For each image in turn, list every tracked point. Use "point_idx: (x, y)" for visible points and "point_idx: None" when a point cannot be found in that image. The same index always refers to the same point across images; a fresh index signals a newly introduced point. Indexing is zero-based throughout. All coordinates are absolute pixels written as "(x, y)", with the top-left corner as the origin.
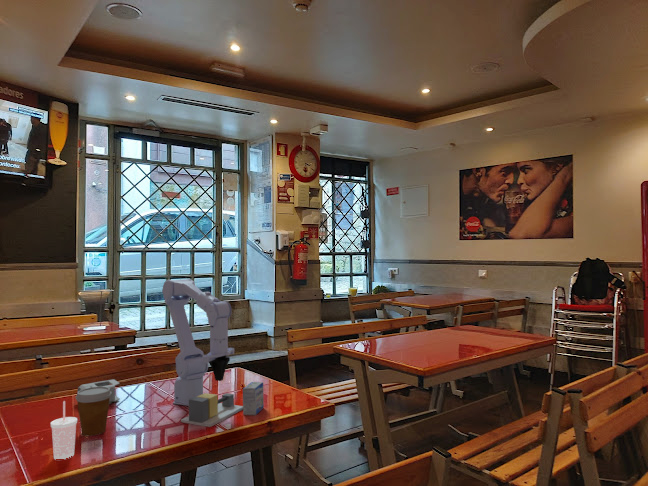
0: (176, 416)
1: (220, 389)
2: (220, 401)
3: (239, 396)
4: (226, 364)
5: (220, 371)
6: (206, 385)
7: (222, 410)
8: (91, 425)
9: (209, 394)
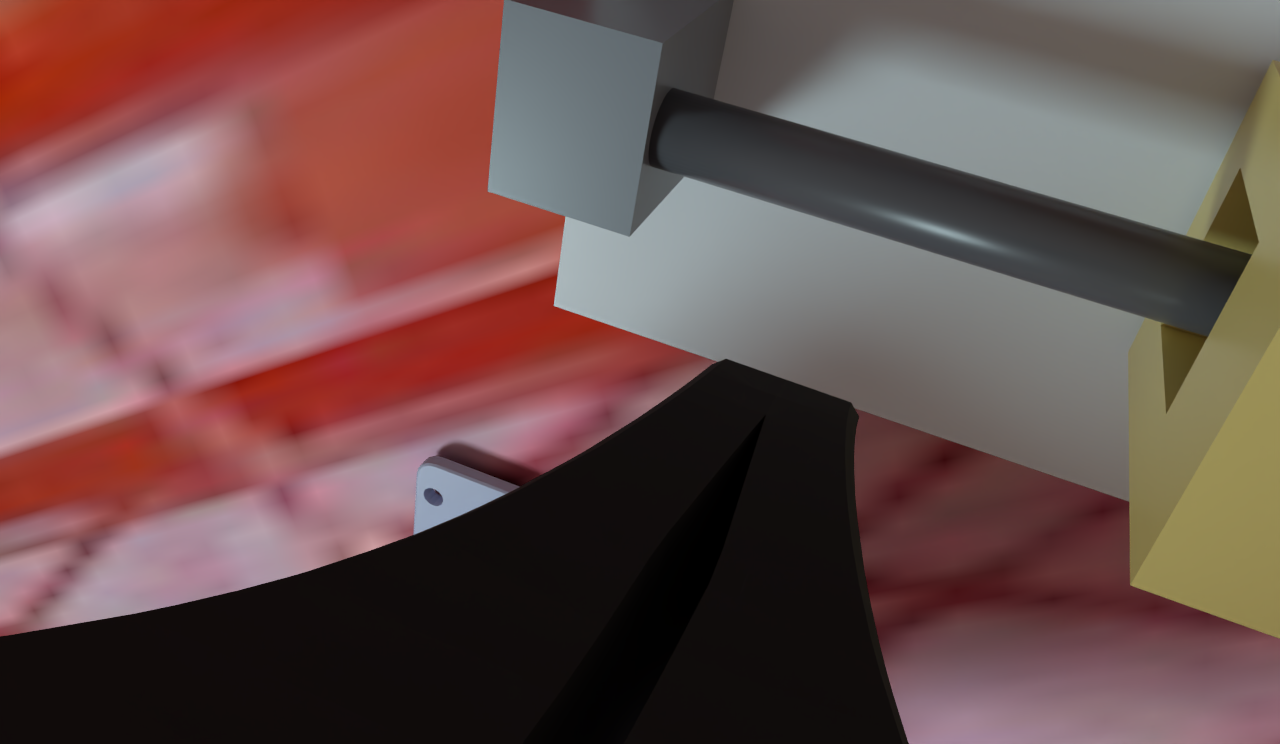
0: (1171, 704)
1: (24, 414)
2: (925, 162)
3: (118, 62)
4: (364, 625)
5: (876, 646)
6: (3, 589)
7: (960, 57)
8: None
9: (1278, 457)
